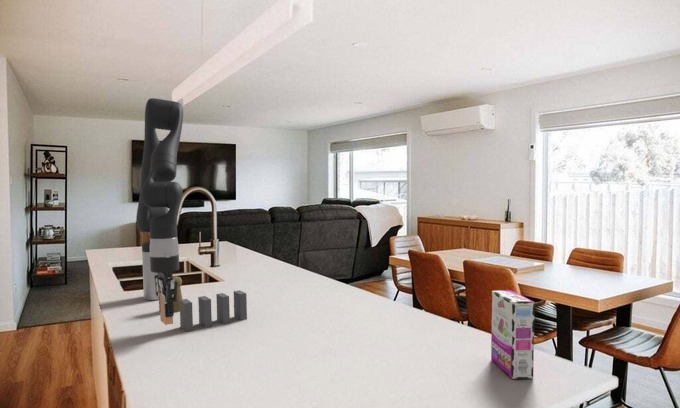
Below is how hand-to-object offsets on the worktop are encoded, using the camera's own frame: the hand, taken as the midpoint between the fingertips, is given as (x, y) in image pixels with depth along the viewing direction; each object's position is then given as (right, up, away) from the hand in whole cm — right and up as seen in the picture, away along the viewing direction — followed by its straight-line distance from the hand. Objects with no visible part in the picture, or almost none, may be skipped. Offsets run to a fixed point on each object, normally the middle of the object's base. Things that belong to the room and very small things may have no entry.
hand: (166, 314), depth 130 cm
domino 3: (+13, -5, +10) cm, 17 cm away
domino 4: (+18, -4, +13) cm, 23 cm away
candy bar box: (+86, -6, -28) cm, 91 cm away
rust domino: (0, -2, 0) cm, 2 cm away
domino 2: (+9, -5, +7) cm, 12 cm away
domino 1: (+4, -5, +4) cm, 8 cm away
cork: (-6, -4, +23) cm, 24 cm away
